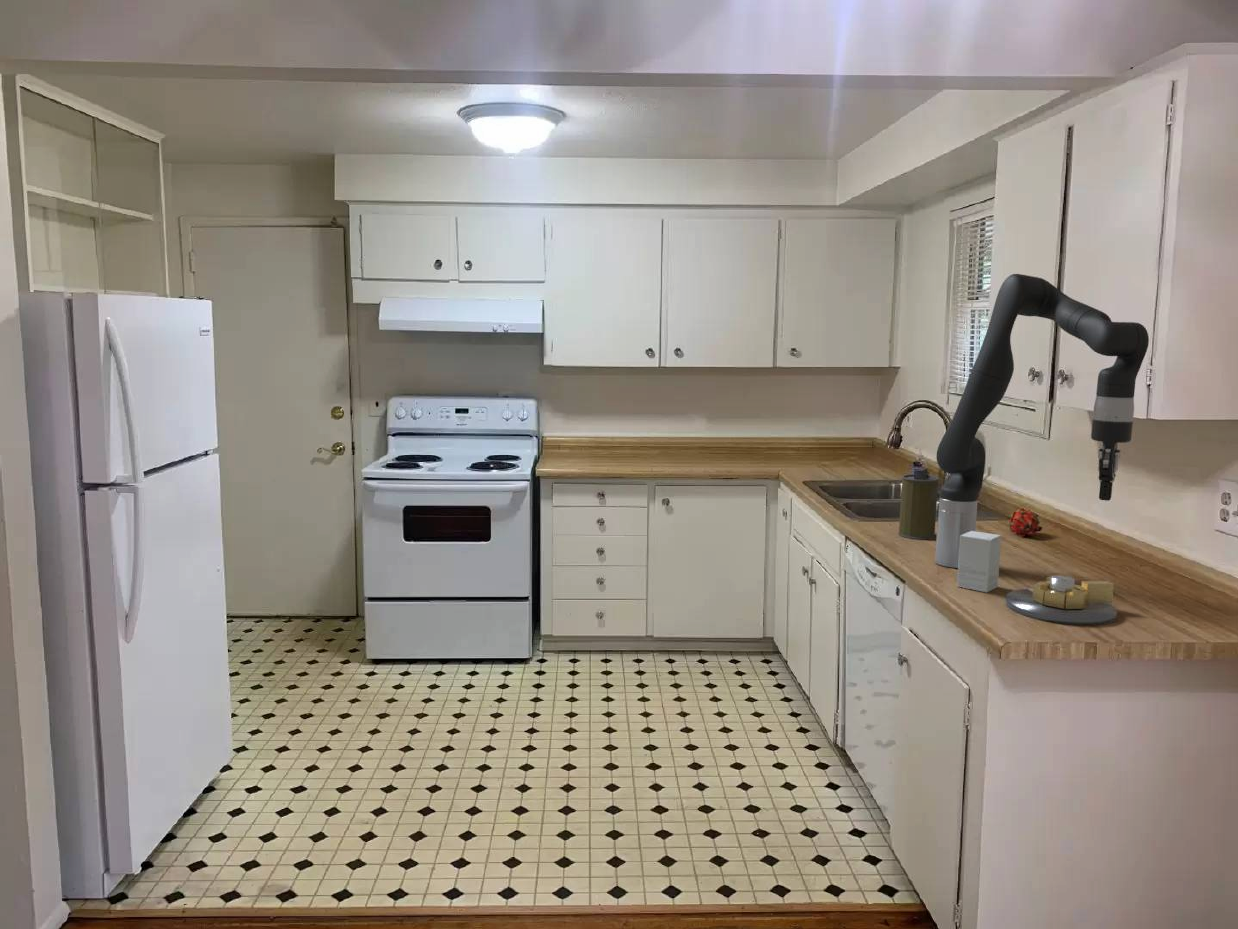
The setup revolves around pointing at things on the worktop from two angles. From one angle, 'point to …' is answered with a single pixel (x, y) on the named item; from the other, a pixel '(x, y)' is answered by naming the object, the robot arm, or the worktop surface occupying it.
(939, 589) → the worktop surface
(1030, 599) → the flange
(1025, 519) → the dragon fruit
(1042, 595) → the tan curved piece
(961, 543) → the supplement box
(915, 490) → the canister
